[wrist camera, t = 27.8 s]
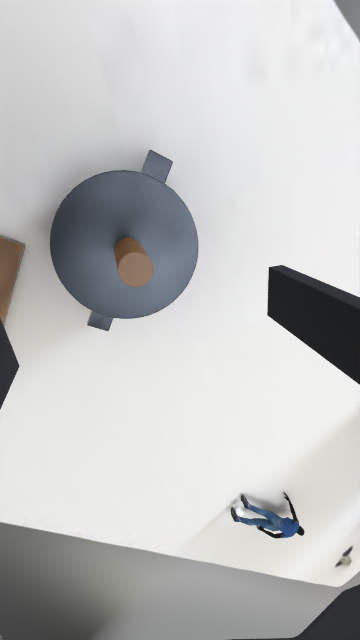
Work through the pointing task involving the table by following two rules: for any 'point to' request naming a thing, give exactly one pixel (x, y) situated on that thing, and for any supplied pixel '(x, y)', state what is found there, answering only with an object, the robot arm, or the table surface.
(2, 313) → the cork mat
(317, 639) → the robot arm
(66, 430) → the table surface
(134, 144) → the table surface
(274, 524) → the person figurine
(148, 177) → the lid
